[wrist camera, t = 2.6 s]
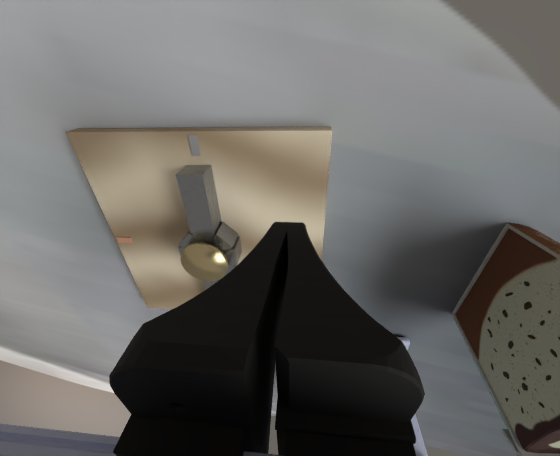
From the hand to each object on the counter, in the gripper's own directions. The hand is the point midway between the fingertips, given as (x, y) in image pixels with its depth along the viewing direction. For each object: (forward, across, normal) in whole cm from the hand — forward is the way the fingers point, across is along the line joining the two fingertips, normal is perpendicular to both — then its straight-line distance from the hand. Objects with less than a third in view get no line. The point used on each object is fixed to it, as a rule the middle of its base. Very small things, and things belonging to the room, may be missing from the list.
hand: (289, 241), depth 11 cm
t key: (+6, +6, +5) cm, 10 cm away
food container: (+7, -17, +8) cm, 20 cm away
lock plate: (+7, +6, +5) cm, 10 cm away
